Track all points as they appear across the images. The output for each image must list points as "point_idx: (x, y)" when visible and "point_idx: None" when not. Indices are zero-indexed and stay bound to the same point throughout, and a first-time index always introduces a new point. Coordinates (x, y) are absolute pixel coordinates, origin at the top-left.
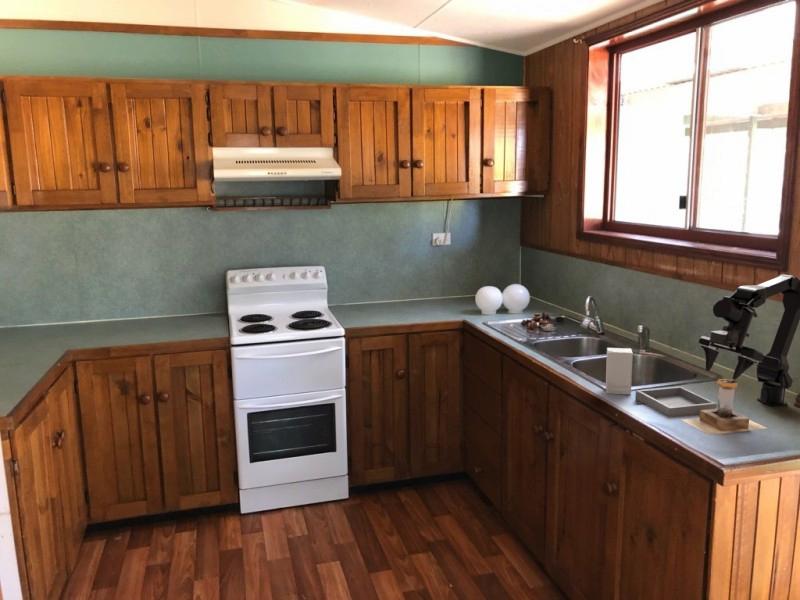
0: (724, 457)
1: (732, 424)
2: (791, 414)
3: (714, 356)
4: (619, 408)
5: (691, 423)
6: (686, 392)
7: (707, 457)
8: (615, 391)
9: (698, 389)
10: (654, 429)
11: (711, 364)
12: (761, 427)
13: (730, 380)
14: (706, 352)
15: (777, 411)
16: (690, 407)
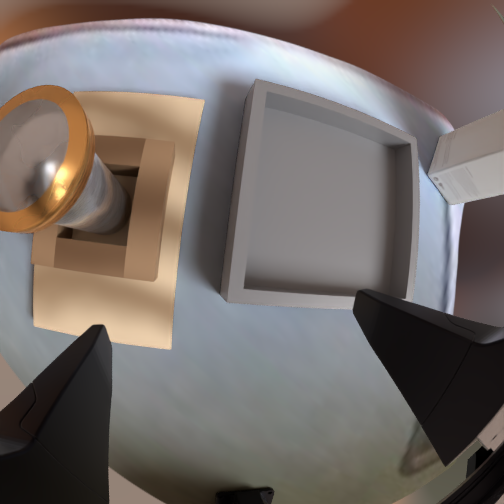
0: (8, 68)
1: None
2: (149, 491)
3: (435, 408)
4: (356, 68)
5: (162, 106)
6: None
7: (32, 38)
8: (439, 146)
9: (396, 395)
10: (200, 23)
11: (388, 350)
12: (41, 313)
13: (23, 198)
14: (498, 333)
15: (179, 482)
16: (242, 164)
